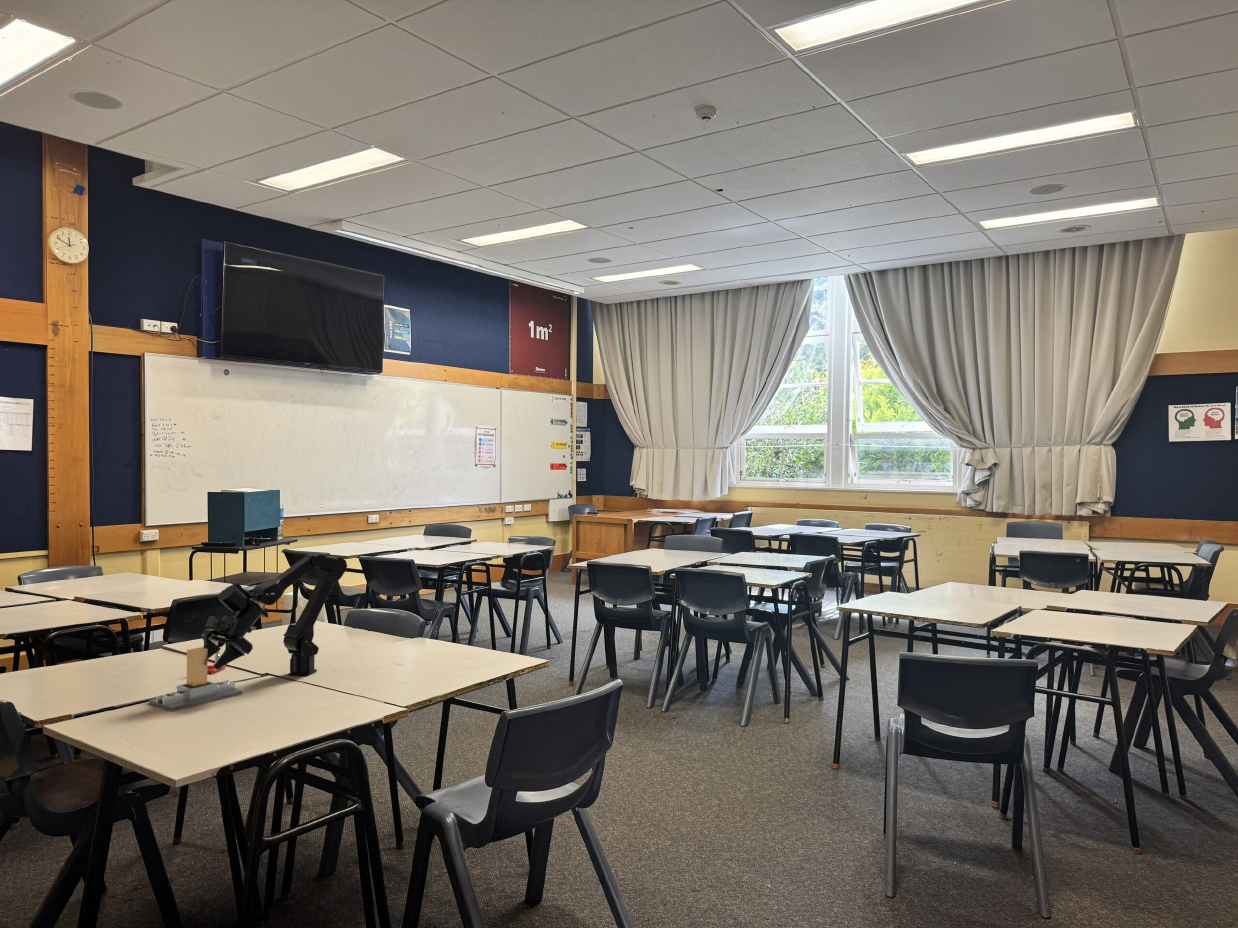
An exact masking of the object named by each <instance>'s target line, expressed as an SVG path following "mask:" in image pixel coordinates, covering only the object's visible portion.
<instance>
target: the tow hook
mask: <svg viewBox="0 0 1238 928" xmlns="http://www.w3.org/2000/svg"><path fill="white" fill-rule="evenodd" d="M220 657H221V655H220V650H219V651H218V652H217V653H215V654H214V663H213V664H210V665H208V664H207V674H208V673H209V674H212V675H213V674H215V673H219V672H221V671H222V670H225V669H226V668H227V667H226V666H227V665H224V666H222V667H220V668H219V669H215V668H214V666H215V664H216V663H217V661H218V660H219V658H220Z"/></svg>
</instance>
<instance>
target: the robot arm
mask: <svg viewBox="0 0 1238 928" xmlns="http://www.w3.org/2000/svg"><path fill="white" fill-rule="evenodd" d="M313 569H318V571H317V575H318V576H317V577H318V580H317V581H316V584H315V586H314V588H313V590H312V593H311V595H310V597H309V599H308V601H306V604H305V606H304V608H303V610H302V613H301V615H300V617H299V619H298V621H297V622H295V623H294V624H293V623H289V624H288V626H287V628H286V630H285V633H283V645H284V647H285V648H286V649H287V651H288V654H289V655H290V654H291V657H290V659H289V673H288V676H298V677H300V676H302V677H308V676H309V675H312V674H314V673H315V672H317V671H318V669H316V668H315V661H316V660H315V657H316V655H318V653H319V646H318V645H317V644H315V643H314V642H313V639H314V636H315V633H314V632H315V630H314V626H315V624H316V623H317V620H318V618H319V616H320V613H321V611H322V609H323V607H324V606H325V603H326V600H327V598H328V597H329V593H330V592H331V590H332V588H333V586H334V585H335V584H336V583H337V582H339V580H340V579H341V578H342V577H343V576H344V574H345V573H346V571H347V569H348V564H347V560H346V559H345V558H344V557H342V556H341V557H340V556H334V555H328V556H320V555H318V554H313V553H308V554H306V555H304V556H303V557H302V558H301V559H300V560H299V561H297V562H295V563H294V564H292V565H291V566H289V567H288V568H287V569H286V570H285V571H283V572H281V573H280V574H279V575H278V576H276V577H274V578H272V579H269V580H268V579H267V580H266V581H265V580H264V581H262V582H261V583H259V584H257V585H256V586H254V587H253V588H252V589H249V590H246V589H244V588H243V586H242V585H241V584H240V583H239V582H233V583H232V584H231V585H229V586H227V587H226V588H225V589H222V591H221V592H220V593H219V595H218V597H217V599H218V601H219V602H221V604H223V605H224V606H225V607H226V608H228V610H229V611H231V612H232V613H235V612H236V614H235V615H234V616H233V617H232V616H227V615H223V616H222V617H217V616H212V615H209V618H208V620H207V622H206V624H205V627H207V628H206V629H205V630H203V632H202V633H201V636H202V640H203V646H202V648H206V649H208V654H207V660H208V659H210V658H211V657H212V656H215V653H217V652H218V651H219V652H220V651H221V649H222V647H223V646H225V647H224V648H225V649H224V651H223V652H222V654H221V655H220V658H219V660H218V661H217V663H216V664H215V663H214V664H215V666H214V668H215V669H219V668H220V667H222V666H224V665H225V666H227V665H228V664H229V663H231V662H233V661H235V660H236V659H239V658H241V657H244V656H245V655H249V654H250V653H251V652H252V650H253V646H254V645H253V644H252V643H251V642H250V641H249V640H248V639H246V638H245V636H246V634H251V632H252V631H253V630H252V629H251V628H252V627H253V625H255V623H256V622H257V620H258V619H259V618H260V617H262V618H266V619H267V618H269V613H268V608H267V607H262V606H261V605H266V606H273V605H274V604H276V603H277V602H278V601H279V600H280V599H281V597H283V595H284V593H285V591H286V590H287V589H288V588H289V587H290V586H292V585H293V584H295V583H296V582H298V581H299V580H301V578H302V577H305V576H306V575H307V574H308V573H309V572H311V571H312V570H313ZM252 601H253V602H252Z"/></svg>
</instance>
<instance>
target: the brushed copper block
mask: <svg viewBox="0 0 1238 928" xmlns="http://www.w3.org/2000/svg"><path fill="white" fill-rule="evenodd" d="M207 654H208V649H206V648H203V646H202V647H201V646H200V647H195V648H190V649H186V683H187V687H188V688H191V689H192V688H196V687H201V686H205V685H207V681H208V673H207V670H208V669H207V666H208V659H207Z"/></svg>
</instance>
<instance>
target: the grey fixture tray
mask: <svg viewBox="0 0 1238 928" xmlns="http://www.w3.org/2000/svg"><path fill="white" fill-rule="evenodd" d="M235 683H236V682H235V681H231V682H230V681H229V679H226V680H222V681H218V682H213V681H210V680H207V685H205V686H201V687H196V688H192V689H191V688H188V687H187V682H186V683H183V684H177V686H176V691H173V692H169V693H165V694H159V695H157V696H156V698H152V699H149V700H148V701H149V705H153V706H155V707H158V708H160V709H164V710H166V711H169V712H175V711H179V710H183V709H186V708H190V707H194V706H198V705H203V704H207V703H210V702H215V701H220V700H224V699H228V698H232V697H236V696H240V695H243V693H244V691H243V690H241V689H238V688H236V684H235Z"/></svg>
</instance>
